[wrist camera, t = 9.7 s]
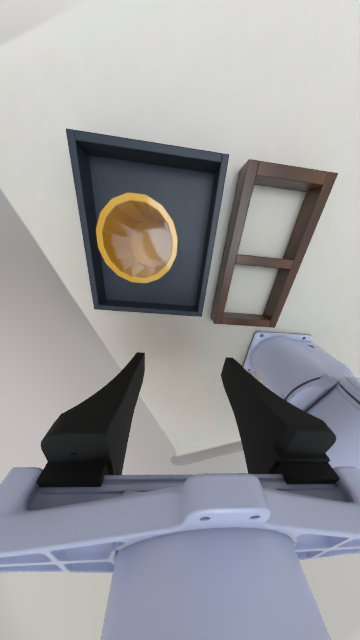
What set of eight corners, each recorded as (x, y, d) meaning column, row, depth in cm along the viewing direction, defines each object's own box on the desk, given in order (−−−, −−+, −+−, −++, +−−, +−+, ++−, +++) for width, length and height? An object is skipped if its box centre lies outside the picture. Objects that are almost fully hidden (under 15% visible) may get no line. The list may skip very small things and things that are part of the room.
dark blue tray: (220, 168, 15) (229, 154, 13) (198, 309, 22) (201, 316, 19) (83, 148, 14) (65, 127, 12) (103, 302, 21) (94, 309, 18)
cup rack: (319, 181, 16) (338, 172, 14) (266, 321, 23) (274, 327, 21) (240, 169, 15) (248, 158, 14) (210, 317, 22) (213, 323, 21)
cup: (177, 220, 17) (181, 199, 9) (173, 271, 19) (174, 285, 12) (127, 214, 16) (90, 186, 9) (129, 267, 18) (101, 279, 11)
